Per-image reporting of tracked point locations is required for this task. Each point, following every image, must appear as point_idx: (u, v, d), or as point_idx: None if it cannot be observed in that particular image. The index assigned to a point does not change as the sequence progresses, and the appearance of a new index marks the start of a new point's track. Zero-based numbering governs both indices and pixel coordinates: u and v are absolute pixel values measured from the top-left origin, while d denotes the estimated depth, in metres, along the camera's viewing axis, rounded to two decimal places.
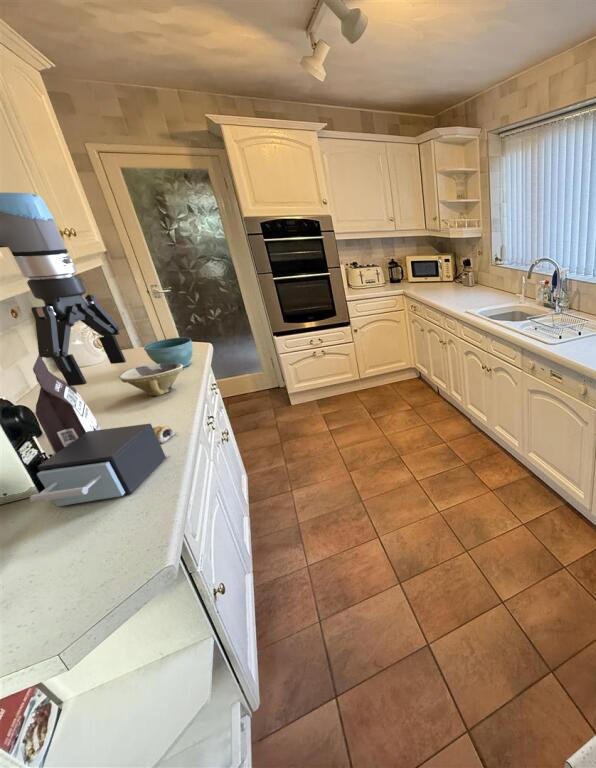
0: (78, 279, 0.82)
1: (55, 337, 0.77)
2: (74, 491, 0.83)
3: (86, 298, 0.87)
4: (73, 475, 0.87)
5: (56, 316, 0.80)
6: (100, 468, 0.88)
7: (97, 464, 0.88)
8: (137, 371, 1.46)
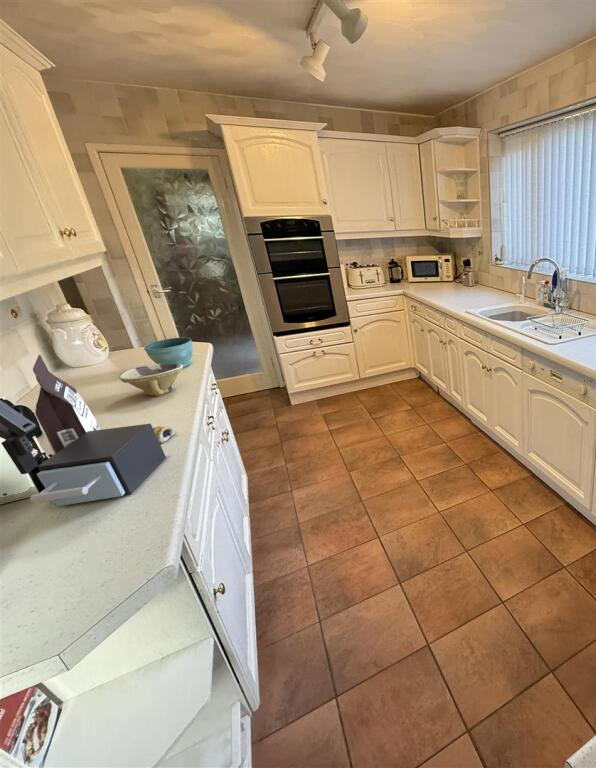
0: None
1: None
2: (74, 491, 0.83)
3: None
4: (73, 475, 0.87)
5: None
6: (100, 468, 0.88)
7: (97, 464, 0.88)
8: (137, 371, 1.46)
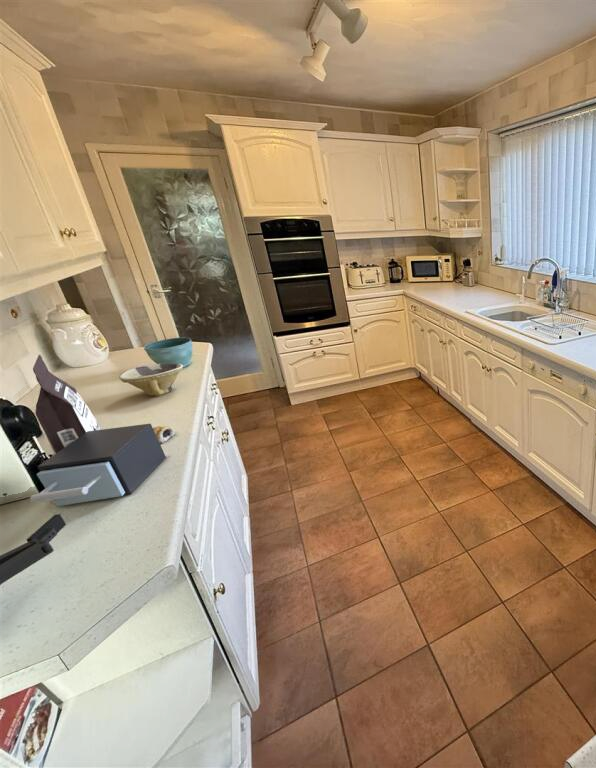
0: None
1: (18, 556, 0.66)
2: (74, 491, 0.83)
3: None
4: (73, 475, 0.87)
5: None
6: (100, 468, 0.88)
7: (97, 464, 0.88)
8: (137, 371, 1.46)
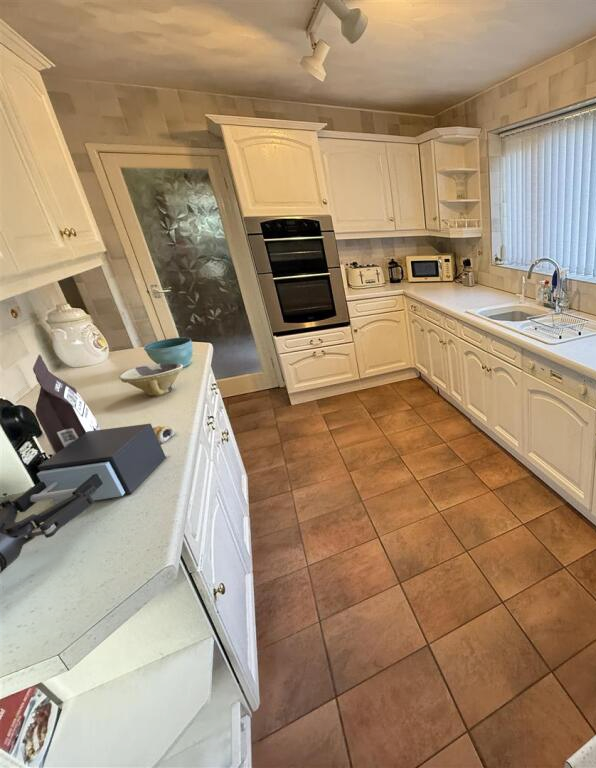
0: None
1: (70, 505, 0.78)
2: None
3: None
4: (73, 475, 0.87)
5: None
6: (100, 468, 0.88)
7: (97, 464, 0.88)
8: (137, 371, 1.46)
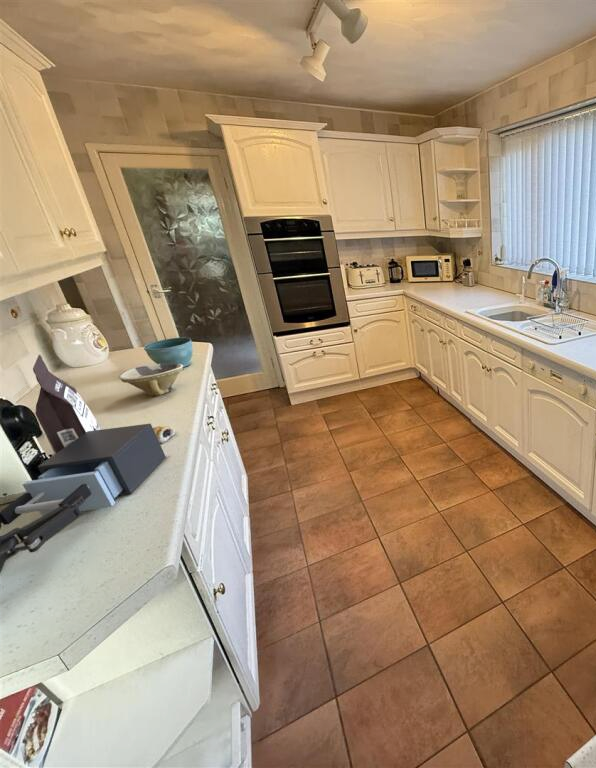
0: None
1: (55, 517, 0.75)
2: (60, 502, 0.80)
3: None
4: (60, 485, 0.84)
5: None
6: (89, 478, 0.85)
7: (86, 474, 0.85)
8: (137, 371, 1.46)
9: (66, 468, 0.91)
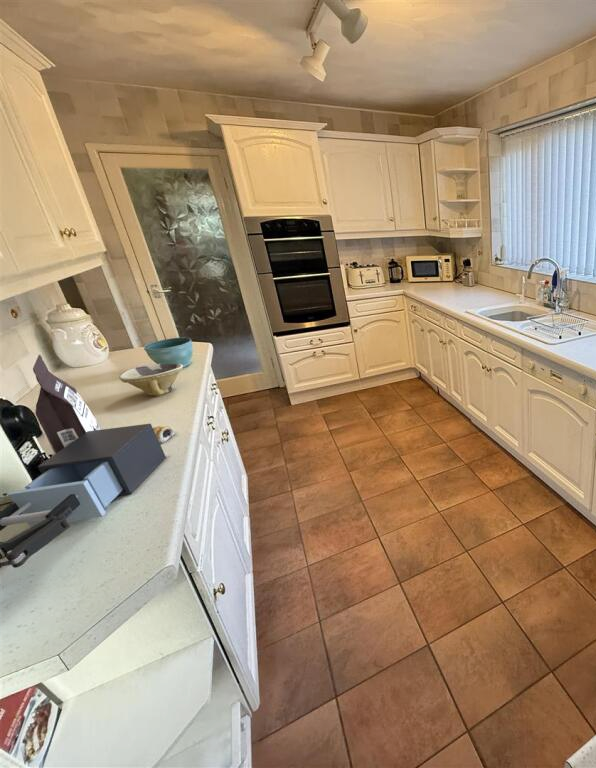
0: None
1: (41, 530, 0.72)
2: (47, 513, 0.77)
3: None
4: (48, 495, 0.81)
5: None
6: (77, 488, 0.82)
7: (74, 483, 0.82)
8: (137, 371, 1.46)
9: (55, 477, 0.88)
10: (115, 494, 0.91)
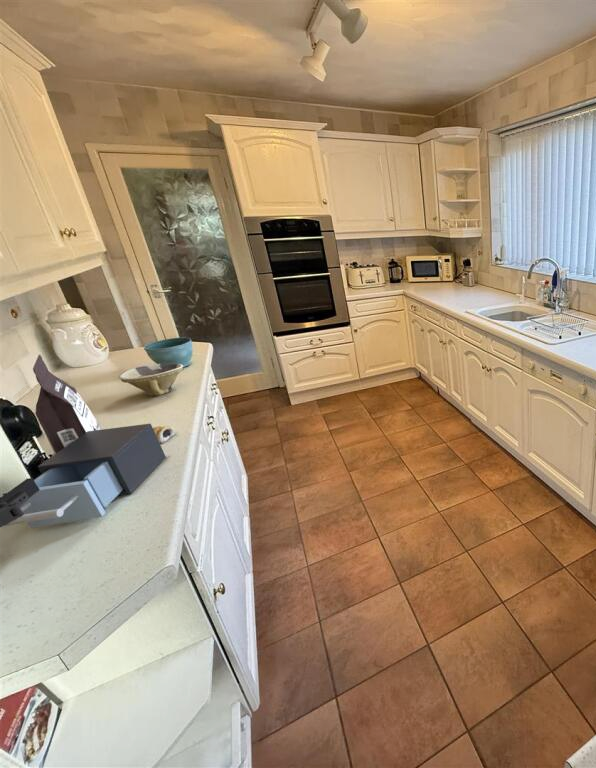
0: None
1: None
2: (47, 513, 0.77)
3: None
4: (47, 495, 0.81)
5: None
6: (77, 488, 0.82)
7: (74, 483, 0.82)
8: (137, 371, 1.46)
9: (55, 477, 0.88)
10: (115, 494, 0.91)
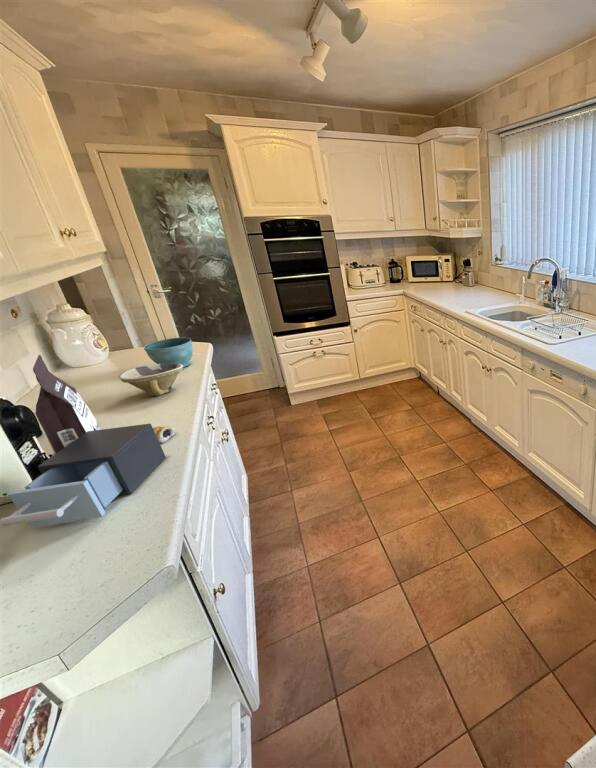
0: None
1: None
2: (47, 513, 0.77)
3: None
4: (47, 495, 0.81)
5: None
6: (77, 488, 0.82)
7: (74, 483, 0.82)
8: (137, 371, 1.46)
9: (55, 477, 0.88)
10: (115, 494, 0.91)
